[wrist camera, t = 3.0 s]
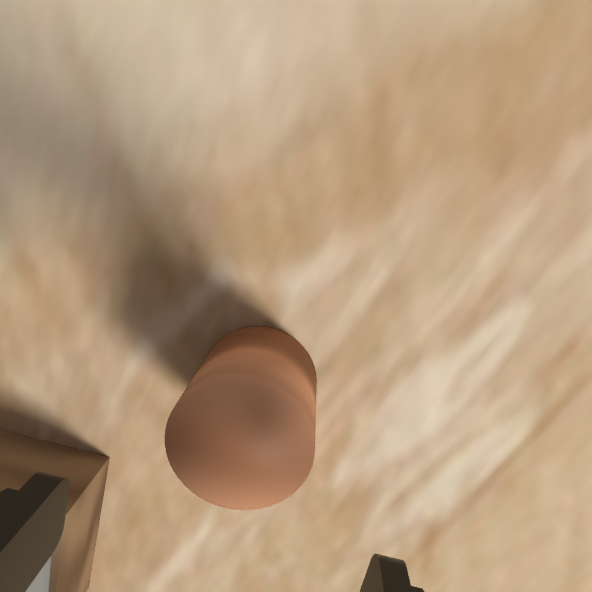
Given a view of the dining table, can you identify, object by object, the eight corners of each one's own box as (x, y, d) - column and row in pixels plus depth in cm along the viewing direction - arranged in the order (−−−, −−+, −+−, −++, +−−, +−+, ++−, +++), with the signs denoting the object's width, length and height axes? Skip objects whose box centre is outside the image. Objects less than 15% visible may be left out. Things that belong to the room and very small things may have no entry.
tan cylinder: (215, 312, 19) (179, 359, 14) (329, 342, 19) (332, 399, 14) (193, 414, 20) (153, 489, 15) (300, 441, 20) (293, 525, 15)
